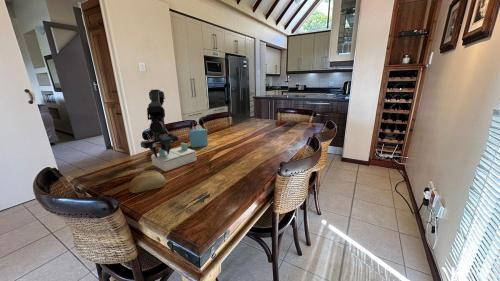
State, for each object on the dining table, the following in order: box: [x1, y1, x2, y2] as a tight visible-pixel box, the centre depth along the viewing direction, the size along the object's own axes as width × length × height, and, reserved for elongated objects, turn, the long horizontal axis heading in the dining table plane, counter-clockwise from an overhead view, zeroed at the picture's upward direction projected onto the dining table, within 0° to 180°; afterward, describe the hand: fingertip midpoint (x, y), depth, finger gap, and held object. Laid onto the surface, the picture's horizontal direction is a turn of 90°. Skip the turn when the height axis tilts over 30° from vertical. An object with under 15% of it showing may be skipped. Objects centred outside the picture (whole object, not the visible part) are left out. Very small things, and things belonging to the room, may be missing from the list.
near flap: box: [151, 148, 180, 162], centre depth 117 cm, size 14×10×4 cm, turn 49°
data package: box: [188, 128, 209, 148], centre depth 151 cm, size 12×4×12 cm, turn 109°
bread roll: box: [128, 170, 167, 194], centre depth 92 cm, size 10×15×8 cm, turn 123°
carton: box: [150, 152, 198, 172], centre depth 122 cm, size 15×20×5 cm
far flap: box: [170, 142, 197, 156], centre depth 124 cm, size 14×10×4 cm, turn 49°
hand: (162, 155), depth 116 cm, fingers open, 6 cm apart
